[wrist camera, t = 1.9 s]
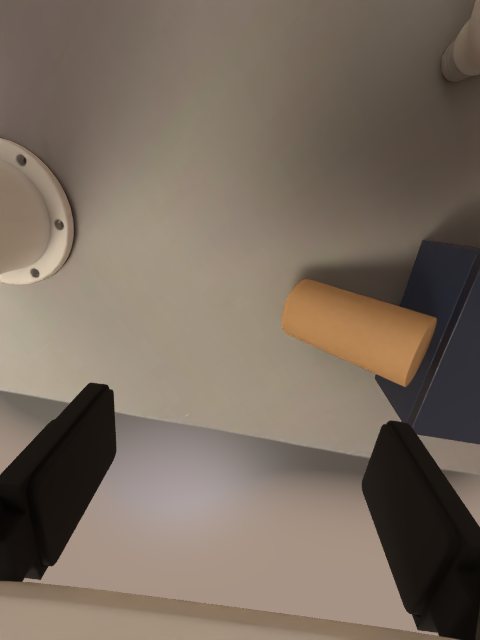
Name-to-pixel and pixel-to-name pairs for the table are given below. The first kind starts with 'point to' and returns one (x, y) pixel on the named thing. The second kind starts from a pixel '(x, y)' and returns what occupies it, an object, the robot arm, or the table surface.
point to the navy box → (444, 345)
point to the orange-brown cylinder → (359, 329)
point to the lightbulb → (464, 50)
